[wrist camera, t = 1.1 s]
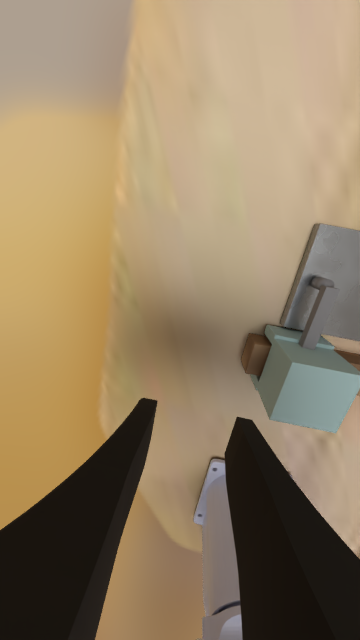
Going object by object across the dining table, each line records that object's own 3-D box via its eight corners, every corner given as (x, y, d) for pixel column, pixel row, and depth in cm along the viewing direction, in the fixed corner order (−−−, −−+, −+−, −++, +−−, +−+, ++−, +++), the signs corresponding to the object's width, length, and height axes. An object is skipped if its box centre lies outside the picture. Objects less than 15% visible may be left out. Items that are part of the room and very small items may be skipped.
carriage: (298, 384, 19) (334, 436, 14) (250, 375, 19) (268, 422, 14) (342, 280, 16) (408, 298, 11) (285, 269, 16) (324, 282, 11)
